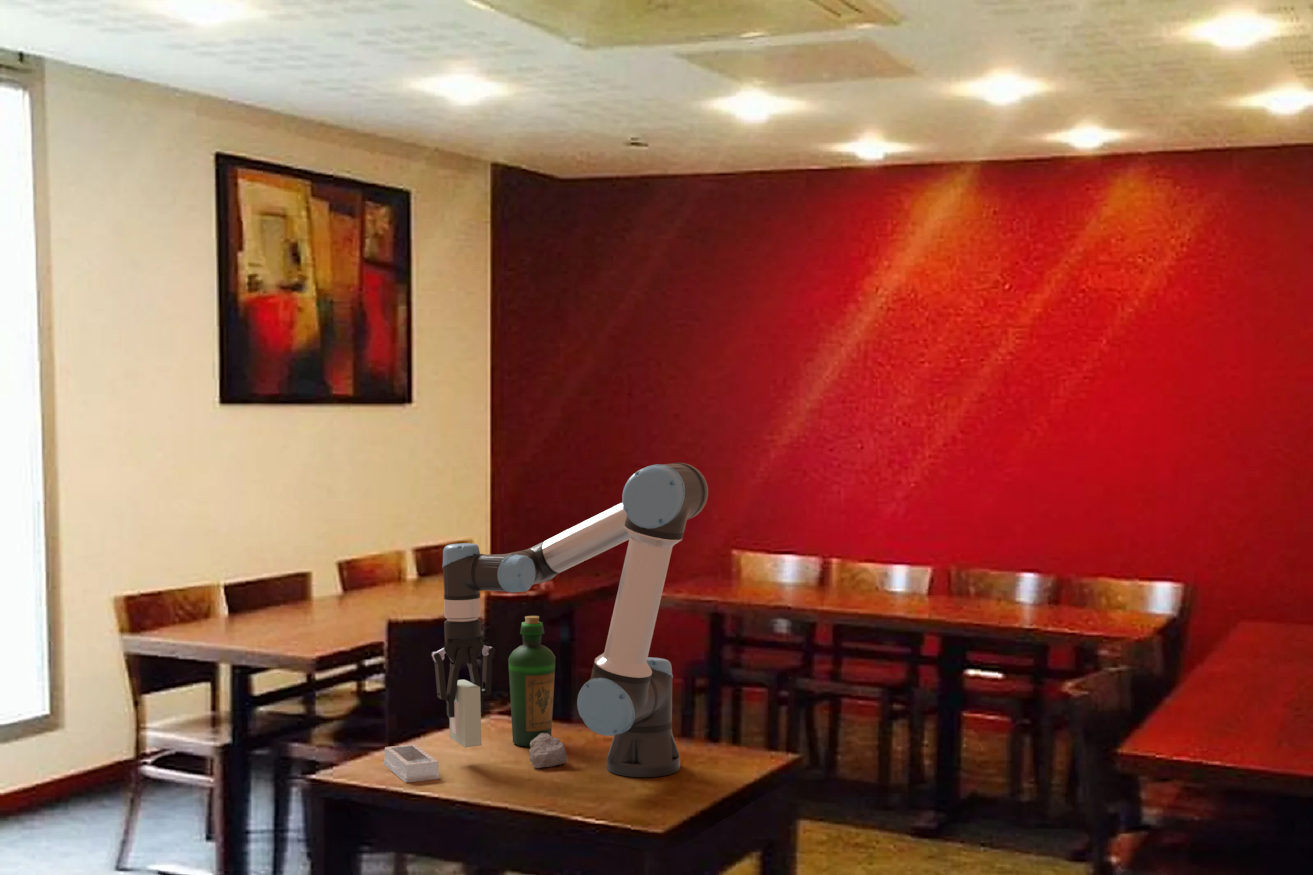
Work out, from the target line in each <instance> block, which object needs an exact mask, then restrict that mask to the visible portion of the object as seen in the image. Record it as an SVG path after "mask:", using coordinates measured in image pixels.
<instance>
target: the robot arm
mask: <svg viewBox="0 0 1313 875" xmlns="http://www.w3.org/2000/svg"><path fill="white" fill-rule="evenodd" d="M708 486H709V485H708V483H707V480H706V477H705V476H704V475H703V473H702V472H701V471H700V470H699V469H697V468H696V467H695V466H693V465H691V464H688V463H684V462H673V463H666V464H661V463H659V464H658V463H657V464H652V465H648V466H646V467H643V468H641V469H639V470H637V471H636V472H635V473H633V474H632V475H631V476H630V477H629V478H628V479H627V481H626V483H625V485H624V486H623V491H622V495H621V497H622V498H621V499H622V500H621V501H622V502H620V503H618V504H616V505H613V506H612V507H610V508H607V509H606V510H604V511H602V512H600V513H598V514H595V515H594V516H592V517H590V518H588V519H585V520H583V521H582V522H580V523H577V524H576V525H573V526H572V527H570V528H567V529H565V530H563V531H562V532H560V533H558V534H556V535H554V536H552V537H550V538H548V539H546V540H544V541H543V542H540V543H538V544H536V545H533V546H531V547H529V548H527V549H524V550H519V551H513V552H509V553H501V554H483V553H481V551H480V546H479V545H478V544H477V543H472V542H471V543H468V542H463V543H451V544H448V545H445V546H444V548H443V550H442V566H441V568H442V576H443V578H442V579H443V612H444V613H443V614H444V615H443V616H444V618H445V619H446V620H444V622H443V623H444V624H443V625H444V629H443V630H444V643H443V645H442V647H441V649H439V650H437V651H432V652H431V653H430V656H431V658H432V661H433V663H434V672H435V684H436V695H437V698H438V699H440V700H442V701H445V702H446V715H447V717H448V718H449V717H450V718H451V721H452V732H453V733H455V734H459V702H457V701H455V696H456V689H457V682H458V680H459V674H460V670H461V666H462V665H464V664H466V666H467V668H468V672H469V677H470V682H471V683H473V684H475V685H477V686H479V687H480V702H481V715H482V714H483V710H484V709H483V708H484V707H483V700H484V698H485V697H487V696H490V695H491V694H492V678H493V658H494V656H495V653H496V648H495V647H493V646H487V645H485V644H484V642H483V640H482V620H481V619H480V618H479V617H480V616H481V615H482V611H481V609H482V608H481V592H484V591H488V592H505V593H506V592H507V593H511V594H514V593H520V592H522V593H524V592H527V591H529V590H530V589H531V587H532V586H533V585H536V584H537V585H538V584H543V583H546V582H549V581H550V580H551V579H553V578H554V577H556V576H557V575H559V574H560V573H562V572H565V571H566V570H568V569H570V568H572V567H575V566H577V565H580V564H581V563H583V562H584V561H587V560H589V559H592V558H593V557H596V556H598V555H600V554H602V553H604V552H606V551H608V550H610V549H612V548H614V547H616V546H618V545H620V544H622V543H624V542H627V541H628V545H627V548H626V553H625V557H624V562H623V567H622V571H621V575H620V580H619V585H618V590H617V594H616V598H615V602H614V607H613V612H612V615H611V620H610V625H609V629H608V634H607V638H606V642H605V647H604V652H602V654H599V655H598V656H597V657H595V658H594V661H593V665H592V670H591V675H590V679H589V680H588V681H586V682H585V683H584V684H583V685H582V687H581V688H580V690H579V692H578V695H577V701H576V704H577V711H578V714H579V716H580V718H581V719H582V722H583V723H584V724H585V726H587V728H589V729H590V730H591V731H592V732H594V733H596V734H598V735H602V736H606V737H608V736H609V737H612V736H613V738H612V740H611V744H610V747H609V750H608V754H607V757H606V770H607V771H608V772H610V773H612V774H614V775H618V776H623V777H629V778H630V777H632V778H656V777H663V776H669V775H673V774H675V773H678V771H680V770H681V756H680V753H679V750H678V746H677V744H676V741H675V738H674V733H673V729H672V728H673V725H672V724H673V720H672V719H673V718H672V717H673V679H674V675H673V669H672V663H671V661H669V660H668V659H665V658H660V657H651V656H650V657H649V652H650V648H651V644H652V639H653V635H654V630H655V626H656V622H657V617H658V613H659V608H660V604H661V599H662V596H663V591H664V586H665V581H666V577H667V573H668V569H669V564H670V559H671V555H672V551H673V547H674V546H675V545H676V544H678V543H679V542H682V541H683V538H684V534H685V530H686V525H687V521H688V520H690V519H692V518H694V517H696V516H698V515H699V513H701V512H702V510H703V509H704V507H705V505H706V504H707V503H708V502H707V501H708V496H709V487H708ZM480 653H482V654H481V655H482V675H481V676H482V680H481V678H480V674H479V668H478V665H479V664H478V661H477V658H478V656H480ZM445 655H446V656H447V657H448V659H449V660H450V662H449V672H448V681H447V686H446V674H445V664H444V660H445Z"/></svg>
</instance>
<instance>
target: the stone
mask: <svg viewBox="0 0 1313 875" xmlns="http://www.w3.org/2000/svg"><path fill="white" fill-rule="evenodd" d="M529 748H530V749H529V750H528V752H529V754H528V755H529V761H530V762H531V765H532V767H534V768H536V769H541V768H549V767H550V768H551V767H555V766H559V765H562V764H564V763H565V762H567V759H568V757H567V753H566V749H565V744H564V742H561V741H560V739H559V737H553V736H552V735H551V736H550V735H549V734H548V733H546V734H545V733H540V734H539V735H538V736H537V737H536V738H534V740H532V741H531V742H530V747H529Z"/></svg>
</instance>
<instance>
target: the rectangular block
mask: <svg viewBox="0 0 1313 875" xmlns="http://www.w3.org/2000/svg"><path fill="white" fill-rule="evenodd" d="M455 701H457V702H459V734H455V733H453V732H452V721H451V718H450V717H448V719H449V739H451V740H452V741H454V742H456V743H457V744H459V745H461V746H462V747H464V748H471V747H481V746H482V716H481V715H482V714H481V702H480V687H479V686H477V685H475V684H473V683H471V681H469V680H467V679H458V682H457V689H456V696H455Z"/></svg>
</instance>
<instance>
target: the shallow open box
mask: <svg viewBox="0 0 1313 875" xmlns="http://www.w3.org/2000/svg"><path fill="white" fill-rule="evenodd" d="M383 765H384V766H385V767H386V768H387V769H389V770H390V771H391V772H392V773H393V774H395V776H397V777H398V778H399V779H400V780H401V781H403V782H404V783H405V784H407V783H414V782H415V783H417V782H424V781H432V780H440V773H439V761H438V760H437V759H436V758H434V757H433V756H432V755H430V754H429V753H427V752H426V751H425V750H424V749H422V748H421V747H419V745H417V744H415V743H413V744H405V745H404V744H402V745H395V746H394V745H393V746H385V747H384V759H383Z"/></svg>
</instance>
